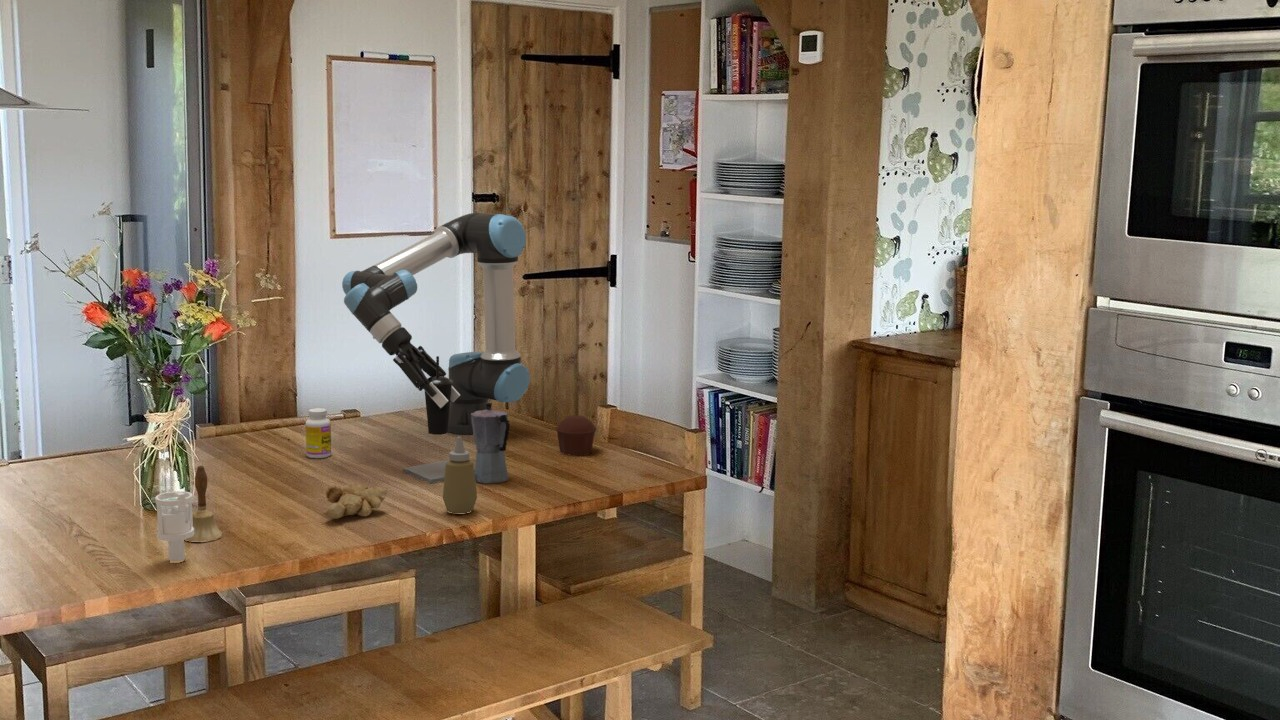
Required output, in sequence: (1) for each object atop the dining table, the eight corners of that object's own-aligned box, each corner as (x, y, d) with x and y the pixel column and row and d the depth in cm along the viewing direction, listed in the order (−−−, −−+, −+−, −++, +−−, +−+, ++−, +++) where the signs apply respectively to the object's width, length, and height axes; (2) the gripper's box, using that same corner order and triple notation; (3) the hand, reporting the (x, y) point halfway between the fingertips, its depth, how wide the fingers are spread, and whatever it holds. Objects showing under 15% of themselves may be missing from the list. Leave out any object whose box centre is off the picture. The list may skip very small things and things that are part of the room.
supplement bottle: (322, 460, 337) (321, 413, 335) (301, 457, 339) (299, 411, 337) (336, 454, 344) (335, 408, 341) (315, 452, 346) (314, 406, 343)
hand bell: (230, 532, 276) (227, 462, 273) (211, 544, 268) (208, 472, 265) (195, 530, 277) (191, 460, 274) (175, 541, 269) (171, 470, 266)
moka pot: (489, 471, 329) (488, 396, 325) (526, 483, 318) (526, 406, 314) (459, 477, 322) (458, 401, 319) (496, 490, 311) (496, 411, 308)
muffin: (599, 455, 346) (600, 420, 344) (560, 457, 344) (560, 422, 342) (590, 445, 358) (591, 411, 356) (552, 447, 355) (552, 412, 353)
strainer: (169, 569, 252) (165, 497, 249) (152, 561, 257) (148, 490, 254) (202, 561, 257) (198, 490, 255) (184, 553, 262) (181, 483, 259)
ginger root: (375, 493, 302) (375, 464, 299) (394, 526, 290) (394, 496, 286) (310, 503, 296) (309, 473, 292) (326, 537, 283) (325, 507, 280)
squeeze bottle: (446, 506, 297) (445, 432, 294) (479, 507, 297) (479, 433, 294) (439, 516, 289) (438, 440, 286) (474, 517, 289) (473, 441, 286)
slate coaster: (449, 463, 336) (449, 459, 336) (477, 474, 325) (477, 470, 325) (403, 471, 327) (402, 468, 327) (430, 483, 316) (430, 479, 316)
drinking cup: (456, 430, 327) (455, 354, 324) (448, 436, 320) (448, 359, 316) (427, 428, 328) (427, 353, 324) (419, 435, 320) (419, 358, 317)
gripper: (399, 339, 333) (456, 403, 332) (364, 351, 314) (424, 418, 313) (417, 320, 331) (475, 385, 330) (383, 331, 312) (444, 399, 311)
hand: (450, 401), depth 321 cm, fingers closed on drinking cup, 7 cm apart
